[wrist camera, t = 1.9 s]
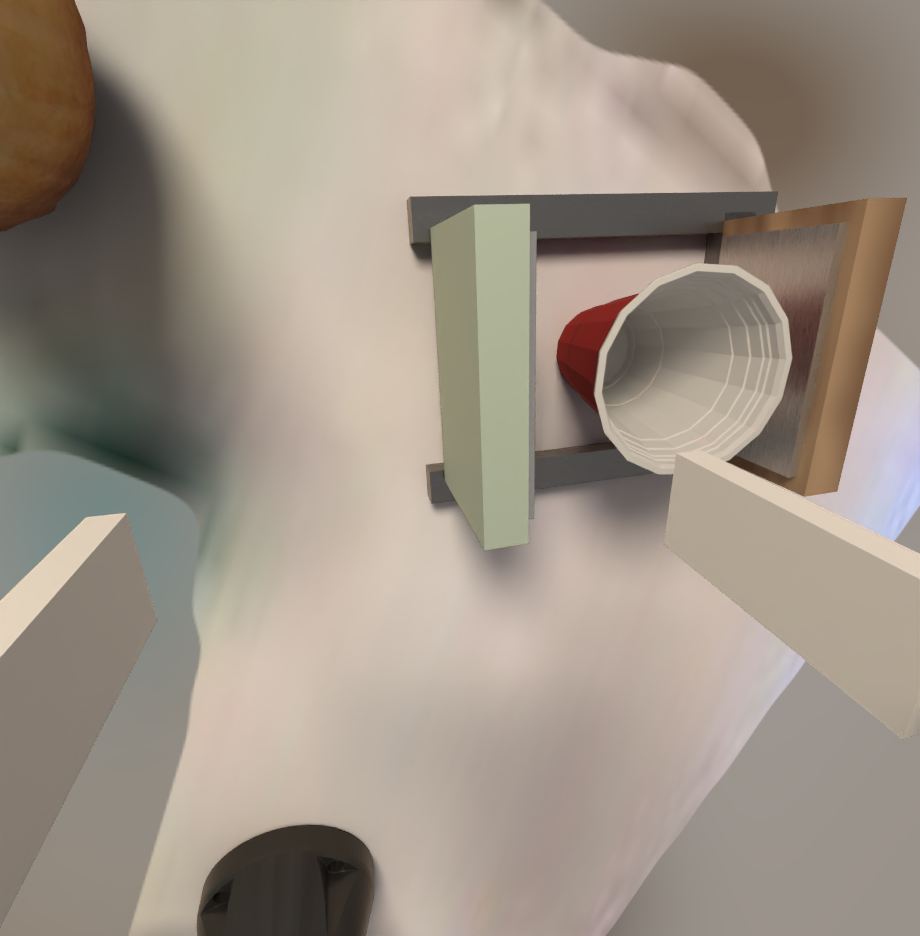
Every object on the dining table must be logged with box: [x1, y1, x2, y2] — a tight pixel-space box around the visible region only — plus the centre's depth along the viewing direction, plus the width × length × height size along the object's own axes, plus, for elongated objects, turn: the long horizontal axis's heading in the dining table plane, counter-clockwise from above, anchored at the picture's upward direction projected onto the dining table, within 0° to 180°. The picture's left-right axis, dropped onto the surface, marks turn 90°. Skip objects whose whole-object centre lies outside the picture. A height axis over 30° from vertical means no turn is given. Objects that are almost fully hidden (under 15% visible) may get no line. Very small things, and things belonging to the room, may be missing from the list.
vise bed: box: [407, 192, 907, 503], centre depth 31 cm, size 25×19×12 cm
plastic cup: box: [557, 263, 792, 474], centre depth 31 cm, size 11×11×12 cm
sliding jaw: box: [430, 204, 537, 550], centre depth 28 cm, size 3×16×10 cm, turn 2°
